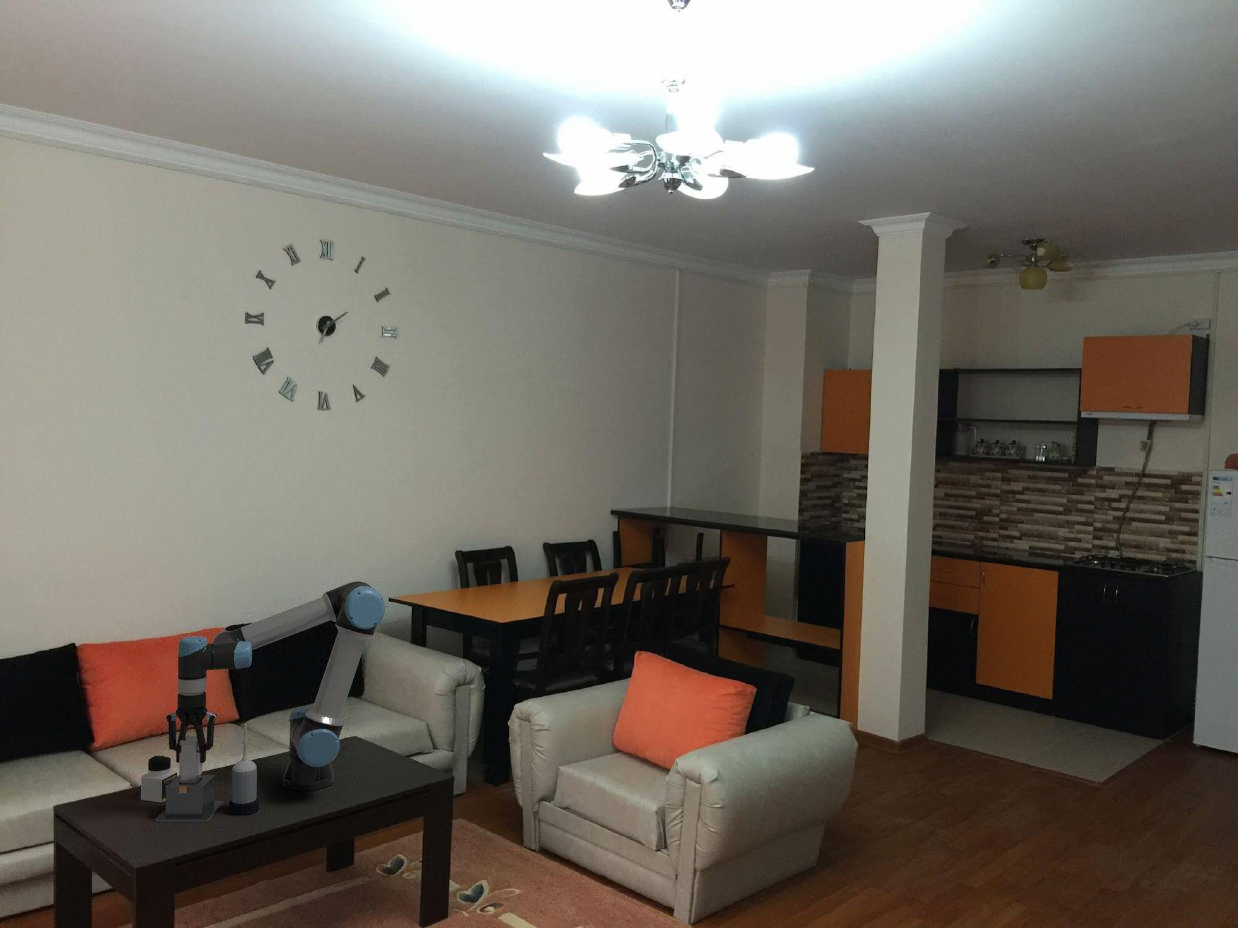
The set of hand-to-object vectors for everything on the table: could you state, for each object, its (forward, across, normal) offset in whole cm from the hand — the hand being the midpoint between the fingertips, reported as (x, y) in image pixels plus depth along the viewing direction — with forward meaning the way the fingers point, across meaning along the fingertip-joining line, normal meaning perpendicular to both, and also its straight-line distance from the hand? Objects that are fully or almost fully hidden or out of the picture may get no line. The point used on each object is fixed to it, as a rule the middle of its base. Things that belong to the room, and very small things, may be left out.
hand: (190, 773), depth 291 cm
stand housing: (+11, 0, 0) cm, 11 cm away
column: (+11, 0, 0) cm, 11 cm away
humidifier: (+11, -14, -2) cm, 18 cm away
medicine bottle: (+11, +13, -12) cm, 21 cm away
